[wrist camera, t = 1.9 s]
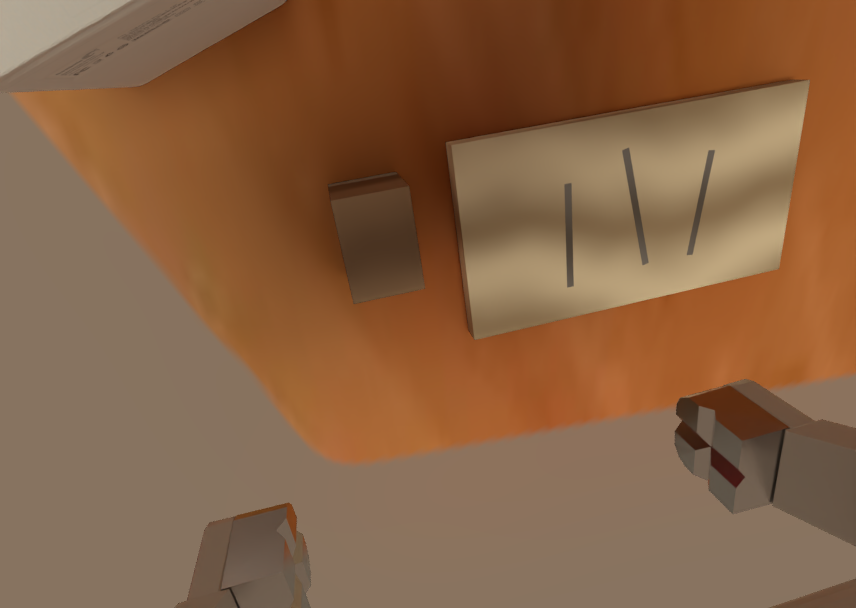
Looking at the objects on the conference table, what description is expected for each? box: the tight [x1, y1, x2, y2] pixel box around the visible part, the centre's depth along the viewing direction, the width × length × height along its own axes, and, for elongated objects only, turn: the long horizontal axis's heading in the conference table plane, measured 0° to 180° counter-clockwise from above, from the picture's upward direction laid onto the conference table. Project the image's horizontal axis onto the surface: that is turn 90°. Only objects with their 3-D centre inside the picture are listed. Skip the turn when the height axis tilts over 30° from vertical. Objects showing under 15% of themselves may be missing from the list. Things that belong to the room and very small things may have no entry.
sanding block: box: [328, 172, 425, 304], centre depth 25 cm, size 5×4×4 cm
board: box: [446, 80, 810, 340], centre depth 29 cm, size 11×20×1 cm, turn 98°
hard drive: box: [0, 0, 286, 93], centre depth 16 cm, size 2×8×12 cm, turn 117°
